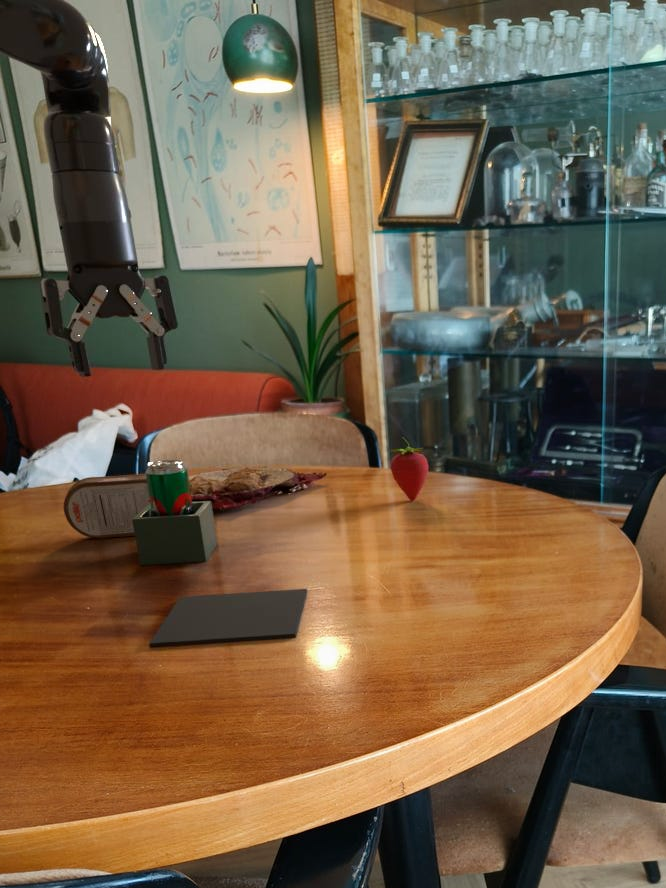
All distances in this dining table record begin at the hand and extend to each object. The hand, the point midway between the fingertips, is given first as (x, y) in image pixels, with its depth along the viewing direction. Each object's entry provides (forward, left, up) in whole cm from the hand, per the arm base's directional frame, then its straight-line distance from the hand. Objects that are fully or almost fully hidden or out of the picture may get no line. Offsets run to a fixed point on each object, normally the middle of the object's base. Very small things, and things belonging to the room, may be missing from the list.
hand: (122, 372), depth 104 cm
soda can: (+2, +3, -24) cm, 24 cm away
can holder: (+2, +3, -23) cm, 24 cm away
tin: (-8, +15, -24) cm, 29 cm away
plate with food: (+2, +40, -24) cm, 47 cm away
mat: (+13, -23, -23) cm, 35 cm away
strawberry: (+33, +27, -24) cm, 49 cm away
